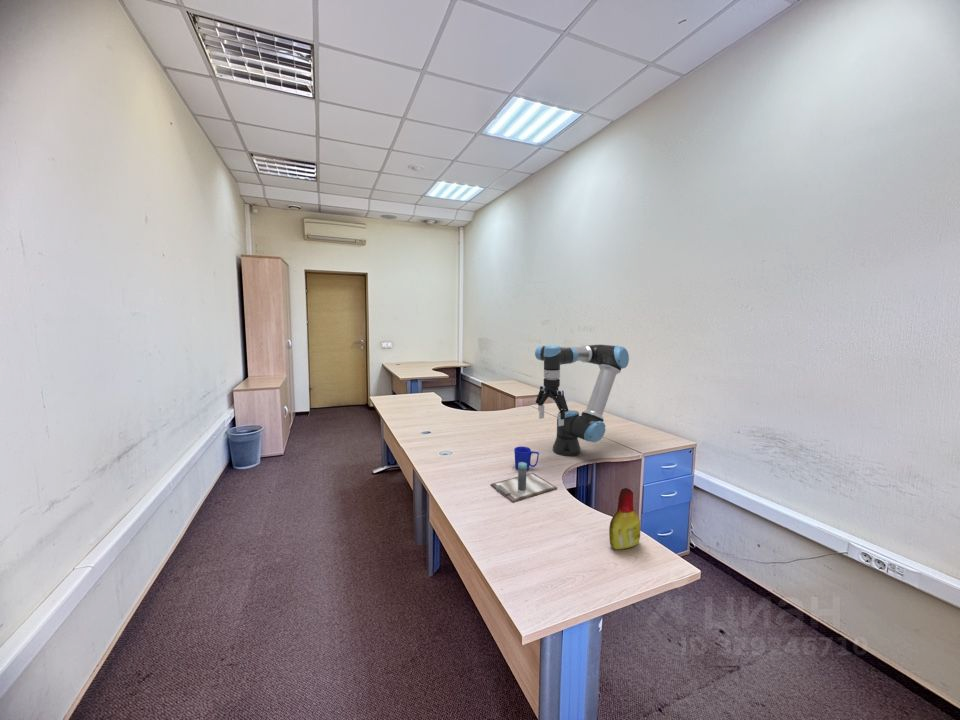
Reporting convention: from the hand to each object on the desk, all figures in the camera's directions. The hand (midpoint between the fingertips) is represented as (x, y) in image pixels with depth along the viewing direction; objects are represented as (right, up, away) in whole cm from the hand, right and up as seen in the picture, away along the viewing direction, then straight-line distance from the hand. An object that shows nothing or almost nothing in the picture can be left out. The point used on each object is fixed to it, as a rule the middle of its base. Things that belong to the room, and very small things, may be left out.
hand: (550, 421), depth 173 cm
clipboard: (-15, -27, -13) cm, 33 cm away
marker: (-16, -27, -19) cm, 36 cm away
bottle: (+14, -32, -53) cm, 63 cm away
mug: (-11, -25, +6) cm, 28 cm away
